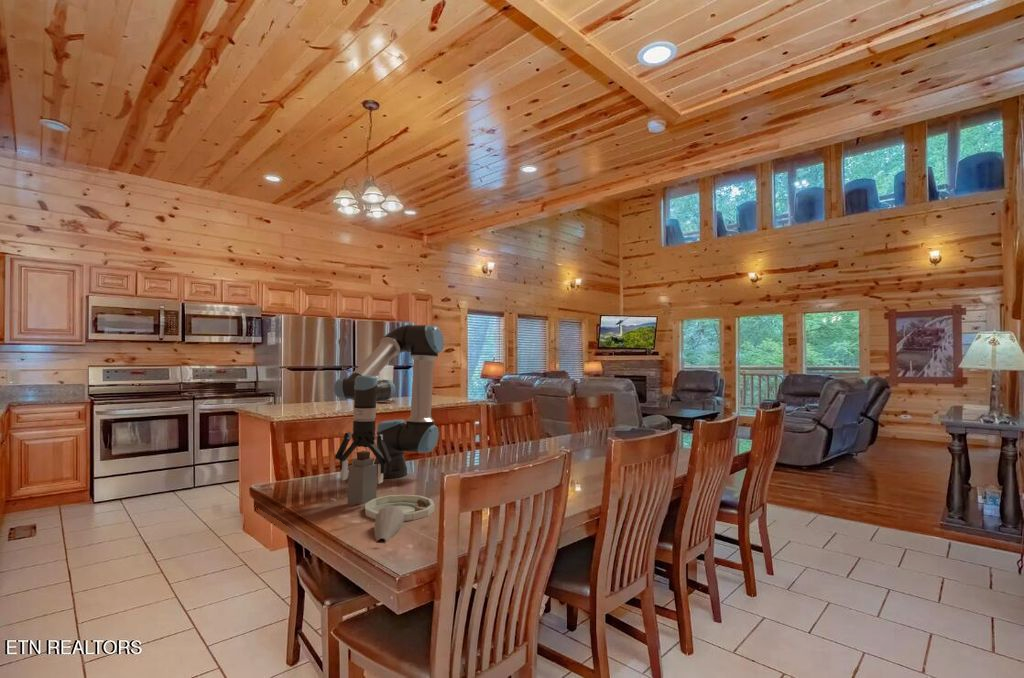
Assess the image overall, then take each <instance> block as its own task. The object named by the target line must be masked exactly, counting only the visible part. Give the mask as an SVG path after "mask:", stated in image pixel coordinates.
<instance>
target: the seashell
mask: <svg viewBox="0 0 1024 678" xmlns="http://www.w3.org/2000/svg"><path fill="white" fill-rule="evenodd" d="M404 522H405V521H404V513H403V512H402V510H401V509H400V508H398V507H396V506H393V505H390V506H386V507H384V508H382V509H381V510H380V511H379V513H378V514H377V516H376V520H375V519H374V529H373V531H374V539H375V540H376V543H377V544H378V541H379V540H383V541H384V542H385V543H388V541H390V540H391V539H393V537H394V536H395V535H396V534H397V533H398V532H399V530H400V529H401V526H402V525H403V523H404Z"/></svg>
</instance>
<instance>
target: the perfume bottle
mask: <svg viewBox="0 0 1024 678" xmlns="http://www.w3.org/2000/svg"><path fill="white" fill-rule="evenodd" d="M370 455H371V452H370V451H365V450H362V451H358V452H356V458H352V459H351V461H352V464H350V465H348V479H347V480H348V481H347V482H348V483H347V506H349V507H350V506H351V507H352V506H354V505H356V504H357V505H360V506H361V505H365V503H367V502H369V501H371V500H372V499H375V498H377V485H378V483H377V480H378V477H377V464H374V461H375V459H376V457H375V458H374V457H371V456H370Z"/></svg>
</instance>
